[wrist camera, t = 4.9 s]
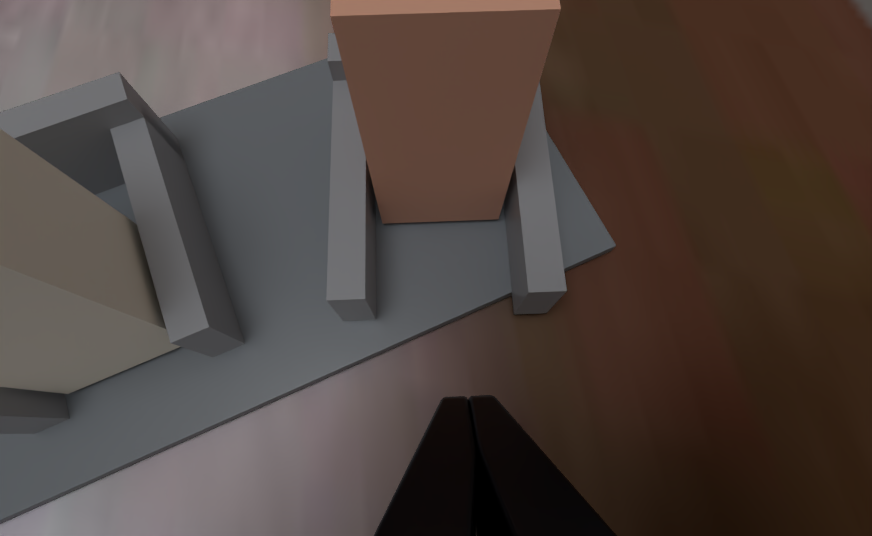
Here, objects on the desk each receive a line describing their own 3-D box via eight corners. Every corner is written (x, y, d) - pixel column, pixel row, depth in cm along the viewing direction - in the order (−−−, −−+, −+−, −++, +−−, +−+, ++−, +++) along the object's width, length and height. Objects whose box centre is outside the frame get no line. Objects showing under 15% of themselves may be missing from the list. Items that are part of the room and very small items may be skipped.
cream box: (195, 340, 18) (-86, 232, 8) (68, 394, 17) (-394, 344, 8) (166, 245, 19) (-108, 52, 9) (46, 292, 18) (-377, 138, 9)
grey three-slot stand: (627, 278, 19) (683, 233, 15) (-421, 757, 15) (-788, 896, 10) (470, 17, 23) (478, -78, 19) (-387, 324, 19) (-638, 291, 14)
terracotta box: (498, 219, 19) (560, 8, 10) (382, 223, 19) (330, 15, 10) (490, 131, 20) (538, -132, 11) (381, 134, 20) (335, -126, 11)
